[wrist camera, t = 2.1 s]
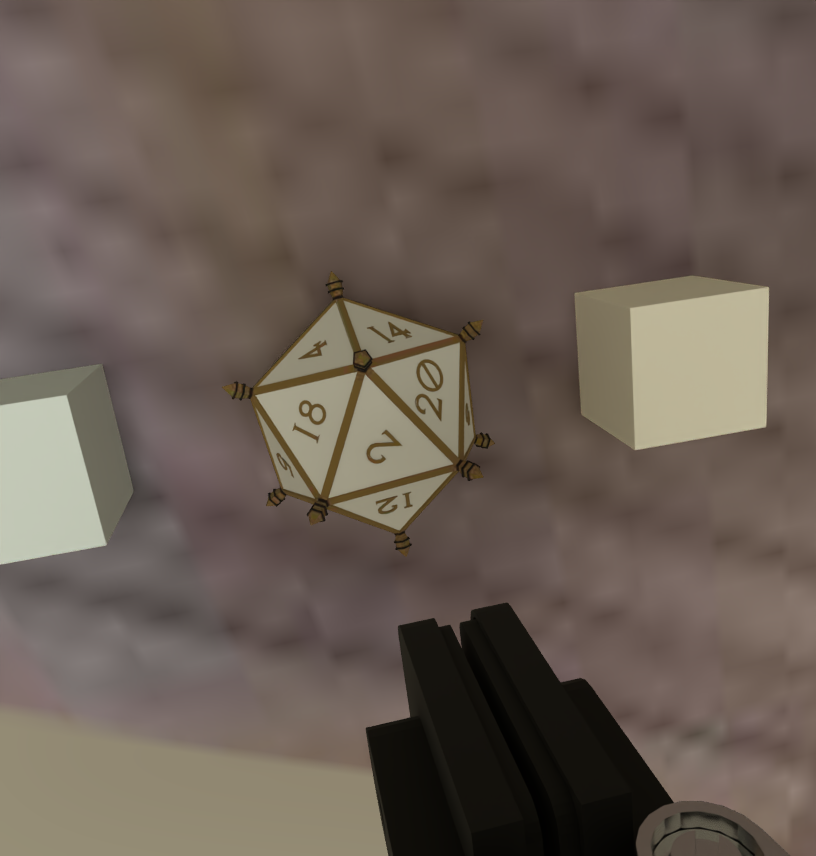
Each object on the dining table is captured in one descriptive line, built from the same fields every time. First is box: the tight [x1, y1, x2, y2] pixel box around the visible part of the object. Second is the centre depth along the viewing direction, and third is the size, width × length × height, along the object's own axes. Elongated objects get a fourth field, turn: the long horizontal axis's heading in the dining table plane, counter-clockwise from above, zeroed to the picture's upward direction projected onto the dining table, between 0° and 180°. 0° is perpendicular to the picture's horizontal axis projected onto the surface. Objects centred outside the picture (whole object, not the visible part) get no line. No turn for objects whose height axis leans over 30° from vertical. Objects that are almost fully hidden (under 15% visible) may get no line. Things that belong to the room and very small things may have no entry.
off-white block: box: [574, 276, 769, 450], centre depth 28 cm, size 5×5×5 cm
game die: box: [222, 271, 495, 557], centre depth 25 cm, size 9×8×10 cm
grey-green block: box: [0, 364, 134, 564], centre depth 25 cm, size 5×5×5 cm
